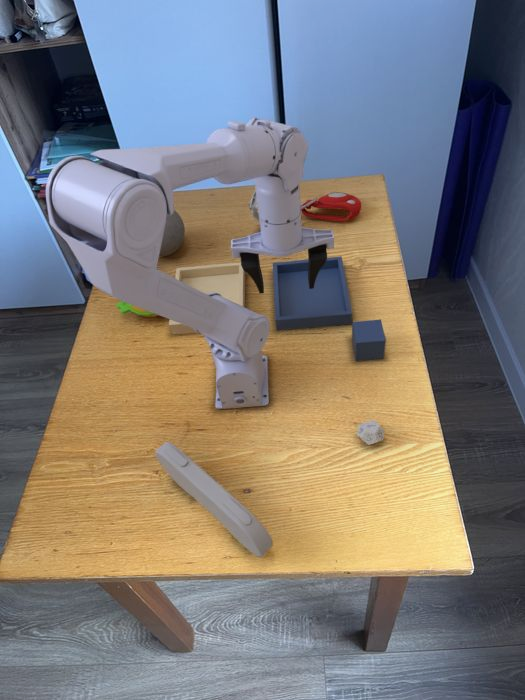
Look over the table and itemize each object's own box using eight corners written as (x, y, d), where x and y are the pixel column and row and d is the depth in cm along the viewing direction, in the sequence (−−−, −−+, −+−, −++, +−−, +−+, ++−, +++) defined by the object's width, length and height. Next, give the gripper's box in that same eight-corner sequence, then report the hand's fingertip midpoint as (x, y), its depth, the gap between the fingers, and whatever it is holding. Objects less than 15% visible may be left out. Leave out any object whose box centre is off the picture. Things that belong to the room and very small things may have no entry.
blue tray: (351, 324, 85) (352, 313, 83) (276, 330, 86) (275, 320, 84) (341, 266, 95) (341, 256, 93) (273, 272, 96) (272, 262, 94)
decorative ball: (193, 234, 106) (183, 192, 98) (184, 266, 99) (171, 224, 92) (147, 235, 107) (133, 194, 100) (135, 267, 101) (119, 225, 93)
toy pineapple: (172, 324, 89) (164, 302, 85) (117, 325, 91) (107, 304, 87) (179, 296, 94) (171, 274, 90) (127, 298, 95) (117, 277, 91)
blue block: (383, 358, 80) (385, 340, 76) (355, 361, 80) (356, 342, 77) (379, 337, 83) (381, 319, 79) (351, 340, 83) (352, 321, 80)
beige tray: (244, 328, 87) (242, 318, 85) (172, 334, 88) (168, 324, 86) (245, 271, 97) (243, 261, 95) (179, 278, 97) (176, 267, 95)
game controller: (277, 552, 62) (271, 526, 56) (265, 566, 61) (257, 542, 55) (175, 459, 72) (160, 428, 66) (163, 471, 71) (146, 440, 65)
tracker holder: (337, 186, 110) (372, 193, 102) (337, 207, 112) (371, 215, 105) (293, 198, 104) (327, 206, 96) (294, 219, 106) (327, 229, 99)
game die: (385, 448, 70) (387, 437, 68) (358, 449, 70) (359, 438, 68) (381, 426, 72) (383, 414, 70) (355, 427, 72) (356, 416, 70)
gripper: (330, 189, 71) (330, 265, 81) (226, 200, 72) (239, 274, 82) (336, 220, 66) (335, 295, 77) (225, 231, 67) (239, 304, 78)
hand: (286, 286), depth 79 cm, fingers open, 7 cm apart
